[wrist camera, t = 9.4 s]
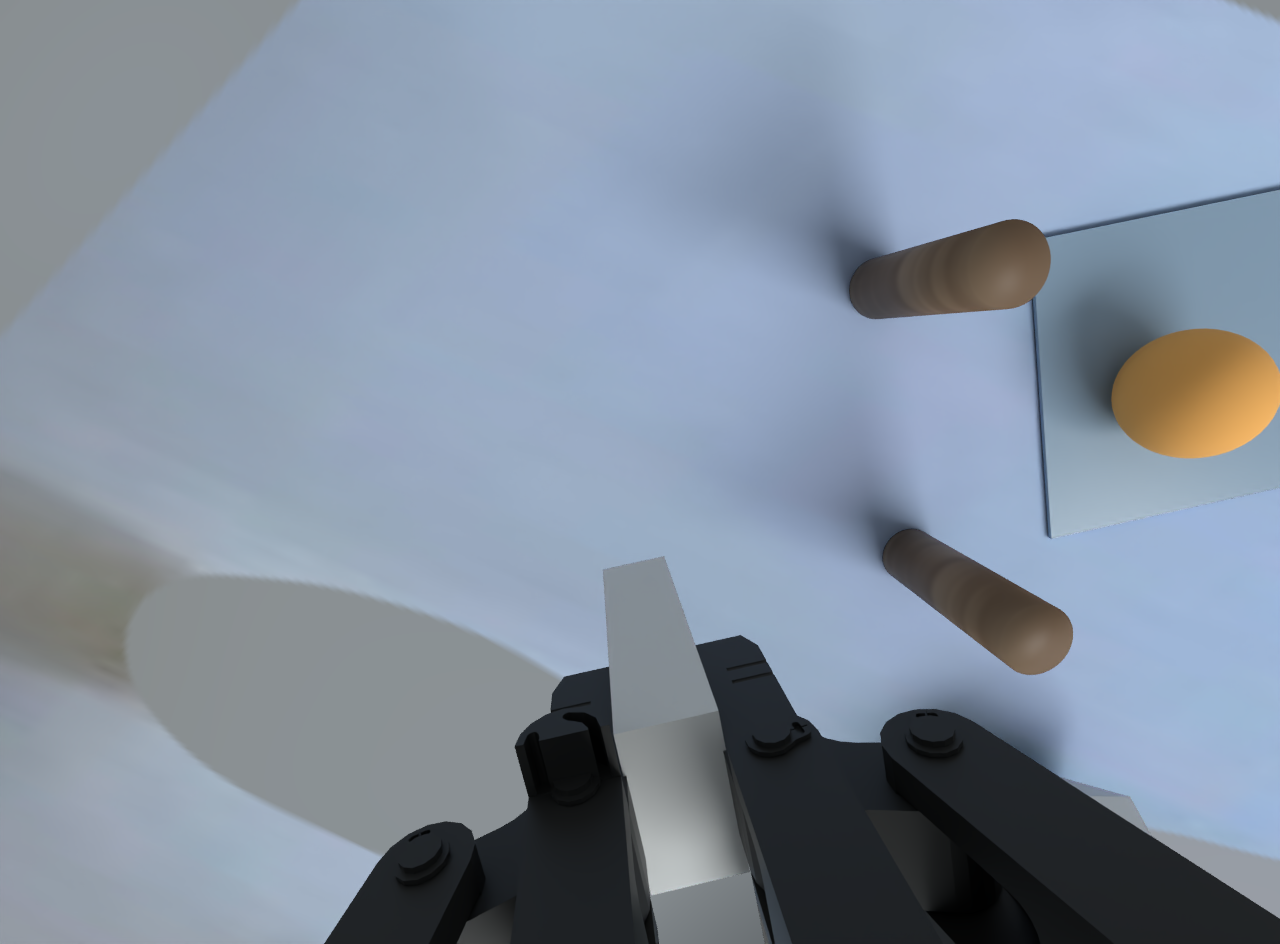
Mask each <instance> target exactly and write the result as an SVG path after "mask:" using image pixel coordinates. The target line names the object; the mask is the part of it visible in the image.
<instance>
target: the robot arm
mask: <svg viewBox="0 0 1280 944" xmlns="http://www.w3.org/2000/svg"><path fill="white" fill-rule="evenodd" d="M603 579H604V594H605V610H606V626H607V641H608V657H609V667H606V668H601V669H597V670H592V671H588V672H583V673H579V674H574V675H570V676H566V677H564V678H563V679H562V681H561V682H560V683H559V685H558V686H557V688H556V689H555V690H554V692H553V694H552V702H551V713H549V714H547V715H545V716H543V717H541V718H540V719H538V720H536V721H535V722H533V723H532V724H530V725H529V726H528V727H527V728H526V729H525V730H524V732H522V733H521V734H520V736H519V738H518V740H517V743H516V745H515V749H516V753H517V757H518V760H519V764H520V767H521V771H522V775H523V779H524V782H525V786H526V789H527V793H528V796H529V801H528V808H527V810H526V811H524V812H523V813H522V814H521V815H520V816H518V817H517V818H516V819H515V820H513V821H511V822H509V823H508V824H506V825H504V826H503V827H501V828H499V829H497V830H495V831H492V832H490V833H488V834H486V835H484V836H483V837H480V838H478V839H476V840H474V837H473V834H472V831H471V830H470V829H468V828H467V827H466V826H464V825H463V824H462V823H455V822H441V823H436V824H431V825H427V826H425V827H423V828H421V829H419V830H416V831H414V832H412V833H410V834H408V835H407V836H405V837H404V838H403V839H402V840H400V841H399V842H397V843H396V844H395V845H393V846H392V847H391V848H390V849H389V850H388V851H387V853H386V854H385V855H384V856H383V857H382V858H381V859H380V861H379V862H378V863H377V864H376V866H375V867H374V869H373V871H372V872H371V874H370V875H369V877H368V878H367V880H366V881H365V883H364V884H363V886H362V887H361V889H360V890H359V892H358V893H357V895H356V896H355V898H354V899H353V901H352V902H351V904H350V905H349V907H348V908H347V910H346V911H345V913H344V915H343V916H342V918H341V919H340V921H339V922H338V924H337V925H336V927H335V928H334V930H333V931H332V933H331V934H330V936H329V937H328V939H327V940H326V942H325V943H324V944H659V939H658V930H657V925H656V921H655V916H654V913H653V908H652V904H651V900H650V892H651V895H654V894H659V893H663V892H667V891H672V890H676V889H680V888H684V887H688V886H692V885H697V884H701V883H705V882H709V881H714V880H718V879H721V878H726V877H730V876H734V875H738V874H743V873H747V872H750V870H751V875H752V880H753V885H754V890H755V895H756V900H757V906H758V911H759V916H760V921H761V926H762V931H763V936H764V942H765V944H1280V919H1279V918H1278V917H1276V916H1275V915H1273V914H1271V913H1270V912H1268V911H1267V910H1265V909H1264V908H1262V907H1261V906H1259V905H1257V904H1256V903H1254V902H1253V901H1251V900H1250V899H1248V898H1247V897H1245V896H1244V895H1242V894H1240V893H1239V892H1237V891H1236V890H1234V889H1233V888H1231V887H1229V886H1228V885H1226V884H1225V883H1223V882H1221V881H1220V880H1219V879H1217V878H1216V877H1214V876H1212V875H1211V874H1209V873H1208V872H1206V871H1205V870H1203V869H1202V868H1200V867H1198V866H1197V865H1195V864H1194V863H1192V862H1191V861H1189V860H1188V859H1186V858H1184V857H1183V856H1181V855H1180V854H1178V853H1177V852H1175V851H1173V850H1172V849H1170V848H1169V847H1167V846H1166V845H1164V844H1163V843H1161V842H1159V841H1158V840H1156V839H1155V838H1153V837H1152V836H1150V835H1149V834H1147V833H1146V832H1144V831H1142V830H1141V829H1139V828H1138V827H1136V826H1135V825H1133V824H1132V823H1130V822H1128V821H1127V820H1125V819H1124V818H1122V817H1121V816H1119V815H1118V814H1116V813H1114V812H1113V811H1111V810H1110V809H1108V808H1107V807H1105V806H1104V805H1102V804H1100V803H1099V802H1097V801H1096V800H1094V799H1093V798H1091V797H1090V796H1088V795H1086V794H1085V793H1083V792H1082V791H1080V790H1079V789H1077V788H1076V787H1074V786H1072V785H1071V784H1069V783H1068V782H1066V781H1065V780H1063V779H1062V778H1060V777H1058V776H1057V775H1055V774H1054V773H1052V772H1051V771H1049V770H1048V769H1046V768H1044V767H1043V766H1041V765H1040V764H1038V763H1037V762H1035V761H1034V760H1032V759H1031V758H1029V757H1027V756H1026V755H1024V754H1023V753H1021V752H1020V751H1018V750H1017V749H1015V748H1013V747H1012V746H1010V745H1009V744H1007V743H1006V742H1004V741H1003V740H1001V739H999V738H998V737H996V736H995V735H993V734H992V733H990V732H989V731H987V730H985V729H984V728H982V727H981V726H979V725H978V724H976V723H975V722H973V721H971V720H969V719H967V718H964V717H962V716H960V715H958V714H956V713H951V712H946V711H942V710H937V709H917V710H912V711H908V712H904V713H900V714H898V715H896V716H895V717H893V718H892V719H890V720H889V721H887V722H886V723H885V725H884V727H883V729H882V731H881V732H880V736H881V743H852V742H840V741H835V740H831V739H827V738H824V737H822V736H821V734H820V733H819V731H818V730H817V729H816V728H815V727H814V726H813V725H812V724H811V723H810V721H808V720H806V719H804V718H802V717H799V716H797V715H796V713H795V711H794V709H793V708H792V706H791V704H790V702H789V700H788V699H787V697H786V695H785V693H784V691H783V690H782V688H781V686H780V684H779V682H778V681H777V679H776V677H775V675H774V674H773V672H772V670H771V668H770V666H769V665H768V663H767V662H766V659H765V657H764V656H763V654H762V652H761V650H760V648H759V647H758V645H757V644H755V643H753V642H751V641H750V640H748V639H746V638H744V637H743V636H741V635H739V636H735V637H730V638H726V639H721V640H717V641H713V642H708V643H704V644H699V645H695V643H694V640H693V637H692V634H691V631H690V629H689V626H688V623H687V620H686V617H685V614H684V611H683V609H682V606H681V603H680V600H679V597H678V594H677V592H676V589H675V586H674V583H673V580H672V577H671V575H670V572H669V569H668V566H667V563H666V560H665V558H664V556H663V557H658V558H654V559H649V560H645V561H640V562H636V563H631V564H626V565H622V566H617V567H613V568H608V569H604V570H603ZM748 864H749V865H748ZM749 867H750V870H749ZM649 887H650V892H649Z"/></svg>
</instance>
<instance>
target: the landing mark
mask: <svg viewBox="0 0 1280 944" xmlns="http://www.w3.org/2000/svg"><path fill="white" fill-rule="evenodd" d="M1046 240H1047V242H1048V245H1049V248H1050V254H1051V265H1050V270H1049V274H1048V277H1047V280H1046V282H1045V284H1044V285H1043V287H1042V289H1041V290H1040V291H1039V292H1038V294H1037V295H1036V296H1035V297H1034V298H1033V309H1034V325H1035V340H1036V355H1037V370H1038V385H1039V401H1040V416H1041V431H1042V446H1043V461H1044V477H1045V492H1046V507H1047V522H1048V537H1049V538H1051V539H1053V538H1058V537H1062V536H1067V535H1071V534H1076V533H1080V532H1085V531H1089V530H1094V529H1098V528H1102V527H1107V526H1111V525H1116V524H1120V523H1125V522H1129V521H1134V520H1138V519H1143V518H1147V517H1152V516H1156V515H1161V514H1165V513H1170V512H1174V511H1179V510H1183V509H1188V508H1192V507H1197V506H1201V505H1206V504H1210V503H1215V502H1219V501H1224V500H1228V499H1233V498H1237V497H1242V496H1246V495H1251V494H1255V493H1260V492H1264V491H1269V490H1273V489H1278V488H1280V405H1279V407H1278V410H1277V412H1276V414H1275V416H1274V417H1273V419H1272V420H1271V422H1270V423H1269V424H1268V426H1267V427H1266V428H1265V429H1264V430H1263V431H1262V432H1261V433H1260V434H1259V435H1257V436H1256V437H1255V438H1253V439H1252V440H1251V441H1249V442H1247V443H1246V444H1244V445H1242V446H1240V447H1238V448H1236V449H1234V450H1232V451H1229V452H1226V453H1223V454H1220V455H1216V456H1211V457H1204V458H1175V457H1170V456H1165V455H1161V454H1158V453H1155V452H1152V451H1150V450H1148V449H1146V448H1144V447H1142V446H1141V445H1139V444H1137V443H1136V442H1134V441H1133V440H1132V439H1131V438H1130V437H1128V436H1127V434H1126V433H1125V432H1124V431H1123V430H1122V429H1121V427H1120V426H1119V424H1118V422H1117V420H1116V418H1115V415H1114V412H1113V409H1112V402H1111V396H1112V388H1113V384H1114V381H1115V379H1116V377H1117V374H1118V372H1119V371H1120V369H1121V368H1122V366H1123V365H1124V363H1125V362H1126V361H1127V360H1128V359H1129V358H1130V357H1131V356H1132V355H1133V354H1134V353H1135V352H1136V351H1138V350H1139V349H1140V348H1141V347H1143V346H1145V345H1146V344H1148V343H1149V342H1151V341H1153V340H1155V339H1157V338H1160V337H1162V336H1165V335H1167V334H1170V333H1174V332H1178V331H1183V330H1190V329H1204V328H1207V329H1218V330H1224V331H1229V332H1232V333H1235V334H1239V335H1241V336H1244V337H1246V338H1248V339H1250V340H1252V341H1253V342H1255V343H1256V344H1258V345H1259V346H1260V347H1262V348H1263V349H1264V350H1265V351H1266V352H1267V353H1268V354H1269V355H1270V356H1271V358H1272V359H1273V360H1274V362H1275V364H1276V366H1277V367H1278V369H1279V373H1280V190H1276V191H1271V192H1266V193H1261V194H1256V195H1251V196H1247V197H1242V198H1237V199H1232V200H1227V201H1222V202H1217V203H1212V204H1208V205H1203V206H1198V207H1193V208H1188V209H1183V210H1178V211H1173V212H1168V213H1164V214H1159V215H1154V216H1149V217H1144V218H1139V219H1134V220H1129V221H1125V222H1120V223H1115V224H1110V225H1105V226H1100V227H1095V228H1090V229H1086V230H1081V231H1076V232H1071V233H1066V234H1061V235H1056V236H1051V237H1046Z"/></svg>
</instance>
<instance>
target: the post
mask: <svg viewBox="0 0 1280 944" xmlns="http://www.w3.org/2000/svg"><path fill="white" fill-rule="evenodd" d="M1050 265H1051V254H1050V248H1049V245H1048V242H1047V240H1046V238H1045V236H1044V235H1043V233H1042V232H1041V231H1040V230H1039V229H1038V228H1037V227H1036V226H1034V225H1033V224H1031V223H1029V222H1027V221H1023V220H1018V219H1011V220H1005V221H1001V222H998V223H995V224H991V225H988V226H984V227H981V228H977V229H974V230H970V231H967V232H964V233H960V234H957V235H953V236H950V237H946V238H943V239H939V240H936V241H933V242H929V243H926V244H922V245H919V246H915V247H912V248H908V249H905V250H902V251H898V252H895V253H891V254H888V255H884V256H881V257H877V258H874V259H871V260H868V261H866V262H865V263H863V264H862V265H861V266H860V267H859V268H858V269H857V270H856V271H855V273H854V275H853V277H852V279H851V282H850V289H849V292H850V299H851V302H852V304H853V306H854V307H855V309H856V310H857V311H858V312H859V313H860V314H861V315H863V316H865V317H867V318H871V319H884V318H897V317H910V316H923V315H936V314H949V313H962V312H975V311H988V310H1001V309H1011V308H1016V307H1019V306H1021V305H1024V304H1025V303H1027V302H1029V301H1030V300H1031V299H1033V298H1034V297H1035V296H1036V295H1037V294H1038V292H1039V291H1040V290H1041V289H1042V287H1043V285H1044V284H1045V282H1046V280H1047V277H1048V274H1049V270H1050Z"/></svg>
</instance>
